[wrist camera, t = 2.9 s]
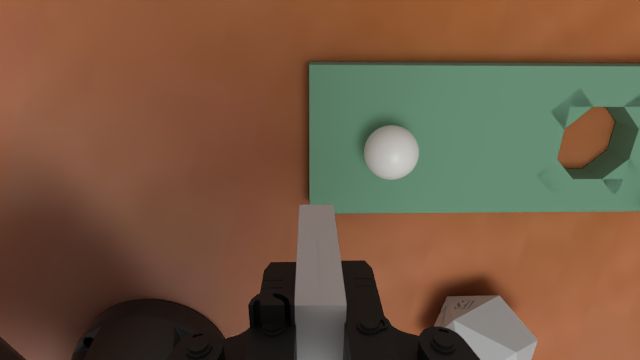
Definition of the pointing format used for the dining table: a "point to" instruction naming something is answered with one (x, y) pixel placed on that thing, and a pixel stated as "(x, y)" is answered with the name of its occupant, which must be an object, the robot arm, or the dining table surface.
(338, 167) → the mini golf green
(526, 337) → the die
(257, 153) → the dining table surface
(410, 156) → the ball
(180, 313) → the robot arm
